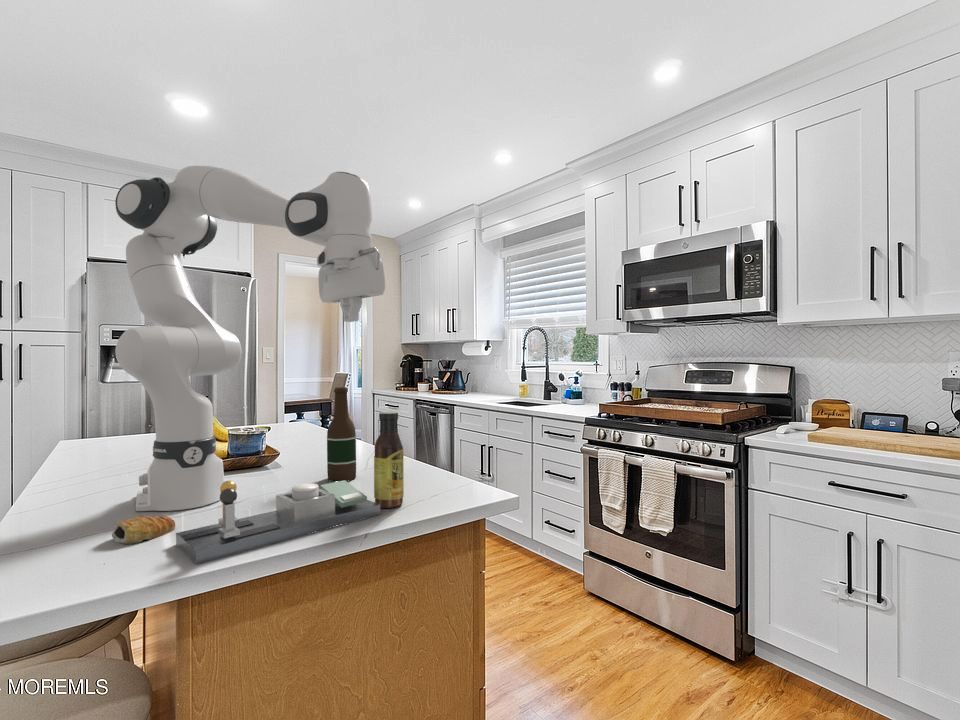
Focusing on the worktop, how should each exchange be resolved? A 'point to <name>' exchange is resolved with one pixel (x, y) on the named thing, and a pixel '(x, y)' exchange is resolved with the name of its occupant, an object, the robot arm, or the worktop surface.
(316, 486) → the button
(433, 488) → the worktop surface
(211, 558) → the board
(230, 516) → the slider
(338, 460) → the beer bottle
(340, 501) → the rocker
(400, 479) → the sauce bottle
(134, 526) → the pastry
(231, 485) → the slider
